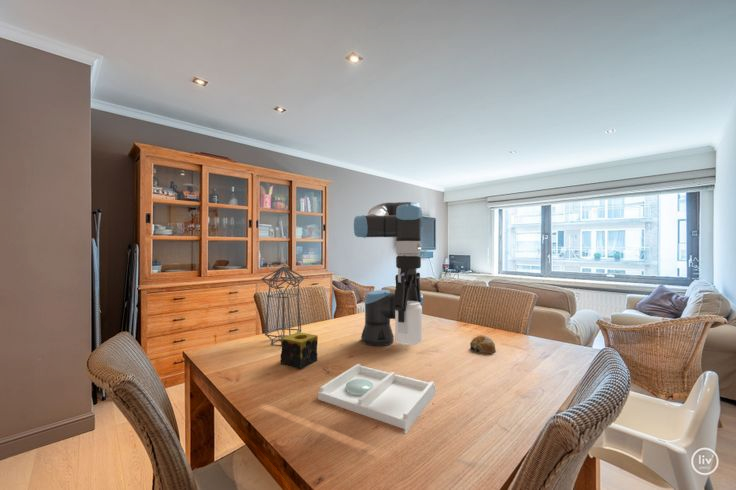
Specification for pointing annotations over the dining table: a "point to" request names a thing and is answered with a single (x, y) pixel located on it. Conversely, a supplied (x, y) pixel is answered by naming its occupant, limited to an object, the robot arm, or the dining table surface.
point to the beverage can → (410, 324)
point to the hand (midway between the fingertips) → (408, 329)
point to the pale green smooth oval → (358, 387)
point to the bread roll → (482, 345)
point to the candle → (299, 350)
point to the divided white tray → (381, 395)
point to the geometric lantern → (286, 270)
